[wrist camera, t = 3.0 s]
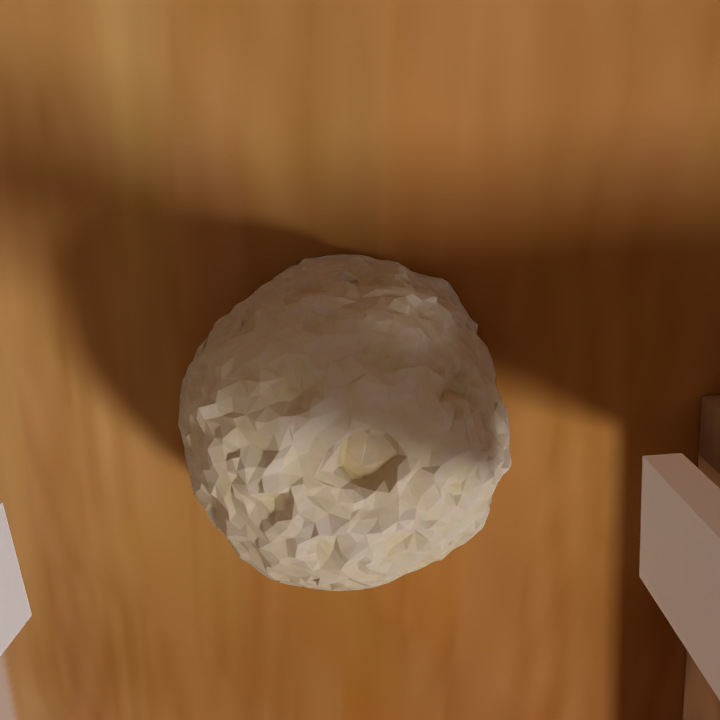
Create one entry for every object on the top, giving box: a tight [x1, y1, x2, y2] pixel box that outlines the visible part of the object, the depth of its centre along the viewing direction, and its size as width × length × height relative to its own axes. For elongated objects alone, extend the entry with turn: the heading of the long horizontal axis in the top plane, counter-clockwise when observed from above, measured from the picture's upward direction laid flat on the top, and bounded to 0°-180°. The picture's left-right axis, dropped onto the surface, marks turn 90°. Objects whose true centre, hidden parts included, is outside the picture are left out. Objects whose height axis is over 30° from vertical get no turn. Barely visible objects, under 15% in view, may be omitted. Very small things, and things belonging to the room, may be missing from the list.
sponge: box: [178, 254, 511, 591], centre depth 19 cm, size 9×10×10 cm
